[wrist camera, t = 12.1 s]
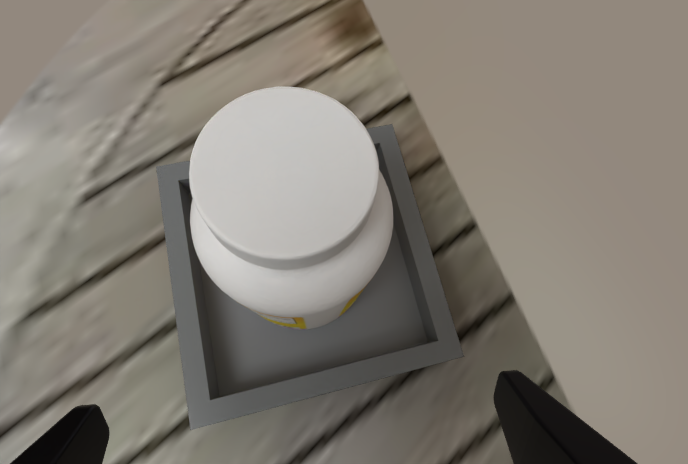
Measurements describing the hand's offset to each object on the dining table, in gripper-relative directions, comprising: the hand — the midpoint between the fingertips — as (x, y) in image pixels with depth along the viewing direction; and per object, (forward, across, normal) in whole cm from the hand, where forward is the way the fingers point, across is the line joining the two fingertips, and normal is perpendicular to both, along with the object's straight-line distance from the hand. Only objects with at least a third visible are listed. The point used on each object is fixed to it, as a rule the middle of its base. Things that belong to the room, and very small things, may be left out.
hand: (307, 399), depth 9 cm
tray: (+13, 0, +5) cm, 14 cm away
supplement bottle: (+12, 0, +5) cm, 13 cm away
